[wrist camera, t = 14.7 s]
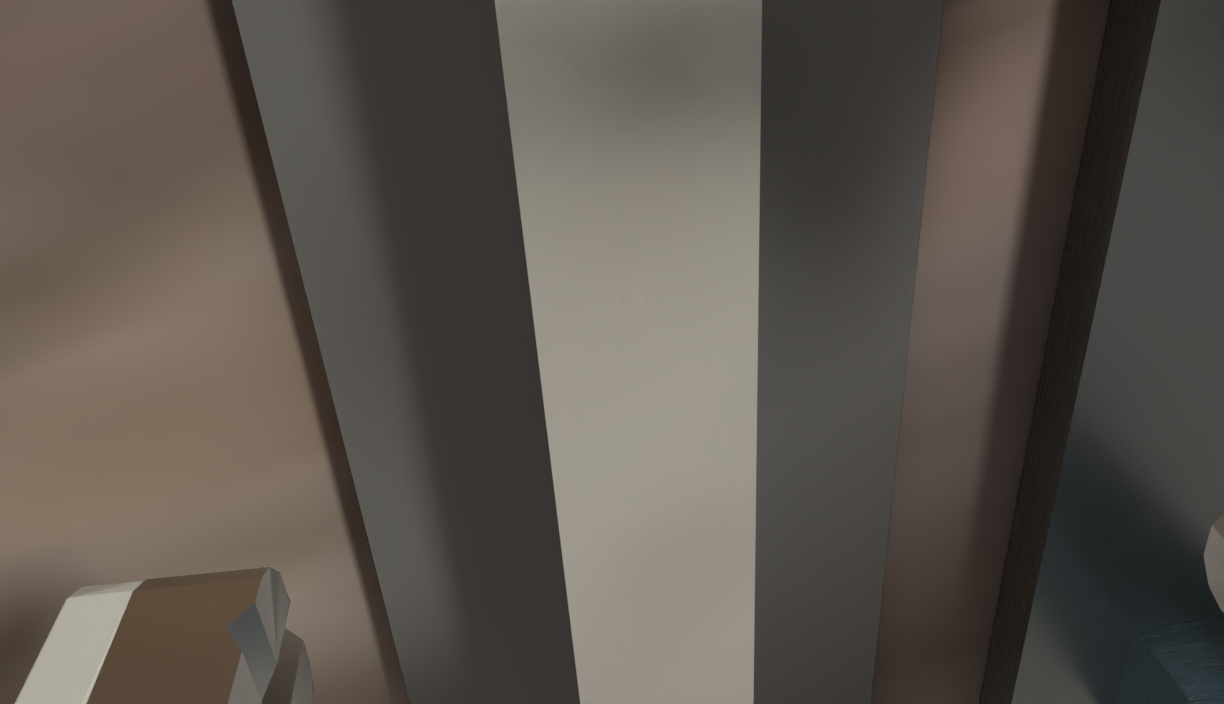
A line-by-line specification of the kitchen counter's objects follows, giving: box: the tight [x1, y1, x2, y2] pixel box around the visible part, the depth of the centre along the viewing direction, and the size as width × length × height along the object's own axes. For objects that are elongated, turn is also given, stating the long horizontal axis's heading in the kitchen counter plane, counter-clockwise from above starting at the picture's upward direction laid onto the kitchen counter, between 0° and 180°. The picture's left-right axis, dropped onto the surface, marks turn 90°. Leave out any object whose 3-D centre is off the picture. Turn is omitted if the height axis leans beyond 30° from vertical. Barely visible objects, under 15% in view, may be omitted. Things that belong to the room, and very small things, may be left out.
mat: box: [232, 0, 944, 704], centre depth 16 cm, size 10×30×1 cm, turn 4°
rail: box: [495, 0, 762, 704], centre depth 14 cm, size 3×30×3 cm, turn 4°
